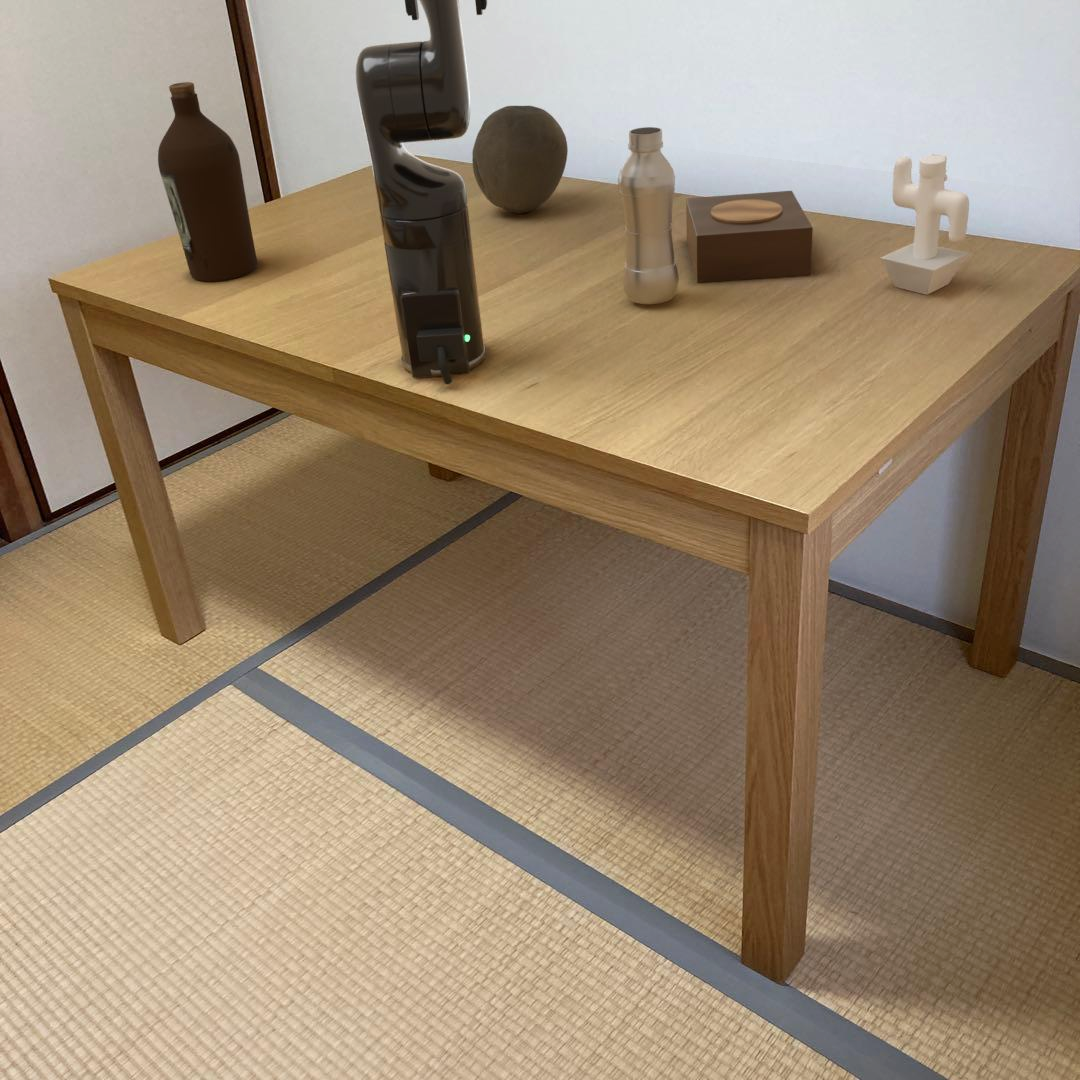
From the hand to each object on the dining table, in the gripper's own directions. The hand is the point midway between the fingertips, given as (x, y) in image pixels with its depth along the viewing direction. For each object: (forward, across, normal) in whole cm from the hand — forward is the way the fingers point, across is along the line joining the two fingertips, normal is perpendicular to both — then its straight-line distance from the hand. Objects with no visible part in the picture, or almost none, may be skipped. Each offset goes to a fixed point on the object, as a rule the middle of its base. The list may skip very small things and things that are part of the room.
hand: (448, 16), depth 152 cm
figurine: (+30, +56, -32) cm, 71 cm away
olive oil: (+30, -35, -8) cm, 46 cm away
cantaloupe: (+30, +7, +11) cm, 32 cm away
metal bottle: (+30, +24, -31) cm, 49 cm away
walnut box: (+29, +37, -18) cm, 51 cm away
